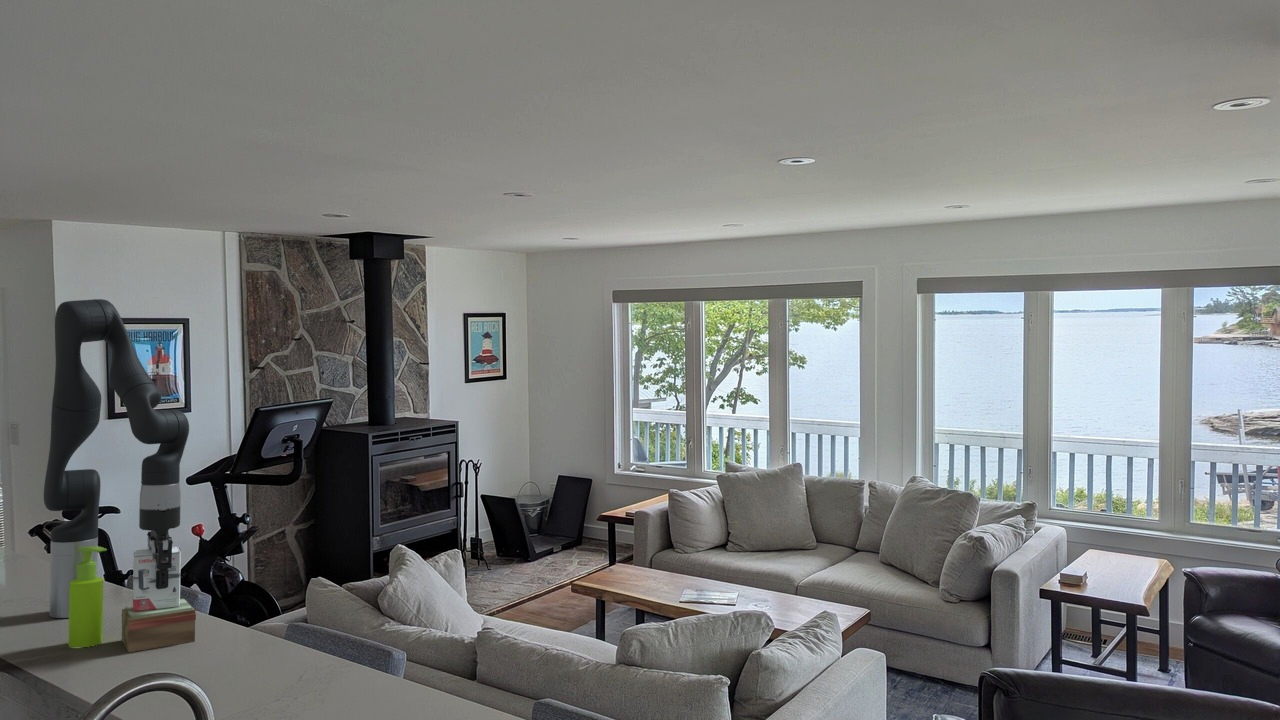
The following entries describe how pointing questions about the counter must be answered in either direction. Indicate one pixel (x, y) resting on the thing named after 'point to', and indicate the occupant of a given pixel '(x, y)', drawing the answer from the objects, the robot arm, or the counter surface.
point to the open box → (158, 627)
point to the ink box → (145, 582)
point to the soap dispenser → (86, 602)
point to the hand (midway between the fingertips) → (158, 584)
